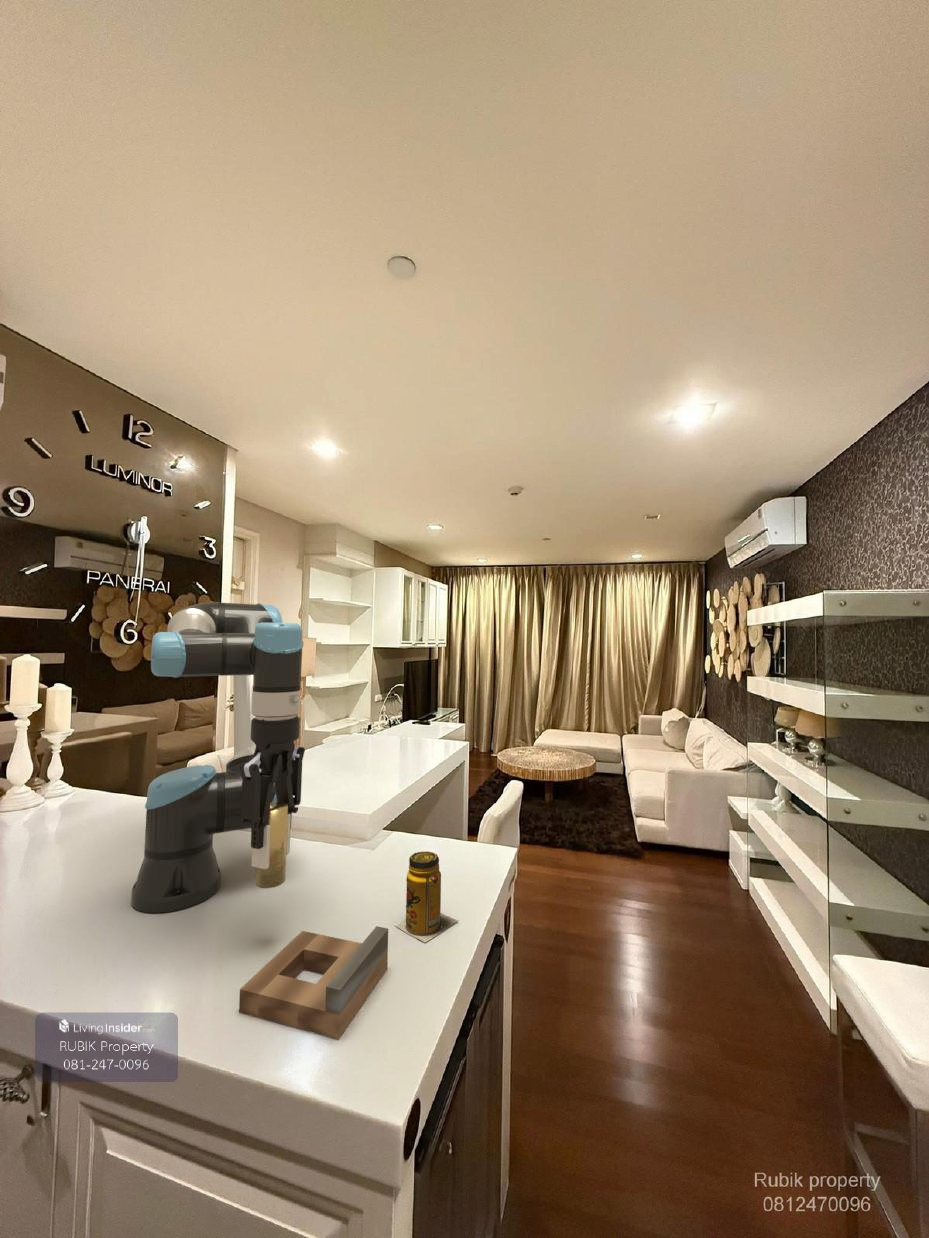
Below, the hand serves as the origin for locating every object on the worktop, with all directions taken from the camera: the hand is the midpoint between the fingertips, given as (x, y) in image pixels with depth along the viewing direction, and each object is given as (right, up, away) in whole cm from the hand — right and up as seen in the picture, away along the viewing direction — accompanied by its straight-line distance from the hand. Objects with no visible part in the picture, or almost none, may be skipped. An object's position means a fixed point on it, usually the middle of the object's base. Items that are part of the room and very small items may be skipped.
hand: (271, 859), depth 81 cm
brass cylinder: (0, -3, 0) cm, 3 cm away
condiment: (+25, -15, +6) cm, 30 cm away
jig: (+11, -13, -10) cm, 20 cm away
